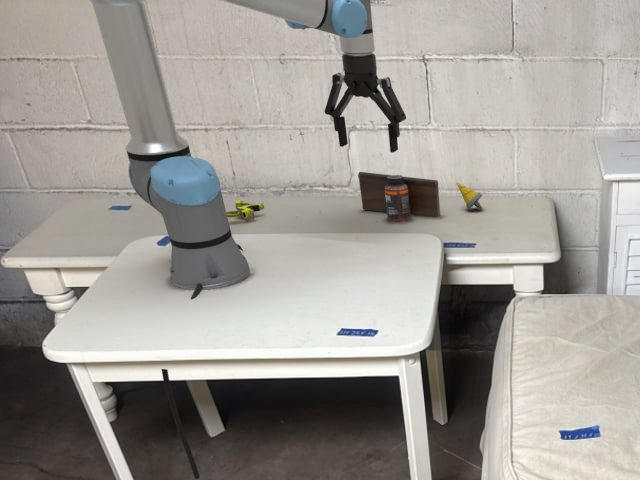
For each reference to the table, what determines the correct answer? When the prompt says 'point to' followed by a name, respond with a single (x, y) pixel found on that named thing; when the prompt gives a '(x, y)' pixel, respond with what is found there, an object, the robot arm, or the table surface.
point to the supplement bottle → (397, 199)
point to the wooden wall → (419, 193)
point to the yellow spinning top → (470, 196)
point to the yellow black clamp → (245, 209)
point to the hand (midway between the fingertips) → (368, 148)
